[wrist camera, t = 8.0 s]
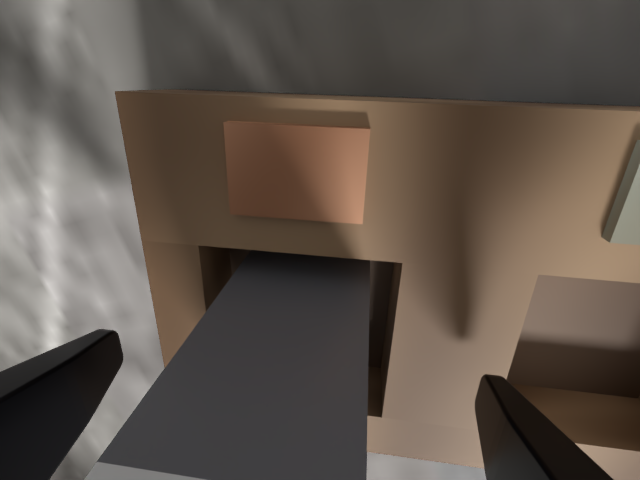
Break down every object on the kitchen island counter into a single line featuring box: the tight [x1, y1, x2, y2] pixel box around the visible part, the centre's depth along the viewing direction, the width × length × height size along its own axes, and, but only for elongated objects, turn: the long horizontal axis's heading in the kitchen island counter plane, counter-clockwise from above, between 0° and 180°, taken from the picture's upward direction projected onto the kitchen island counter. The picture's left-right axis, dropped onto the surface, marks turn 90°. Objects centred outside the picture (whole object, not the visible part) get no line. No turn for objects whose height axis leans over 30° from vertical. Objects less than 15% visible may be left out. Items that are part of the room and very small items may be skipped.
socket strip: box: [115, 89, 640, 480], centre depth 10 cm, size 16×10×3 cm, turn 88°
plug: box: [84, 250, 370, 480], centre depth 8 cm, size 4×4×8 cm
